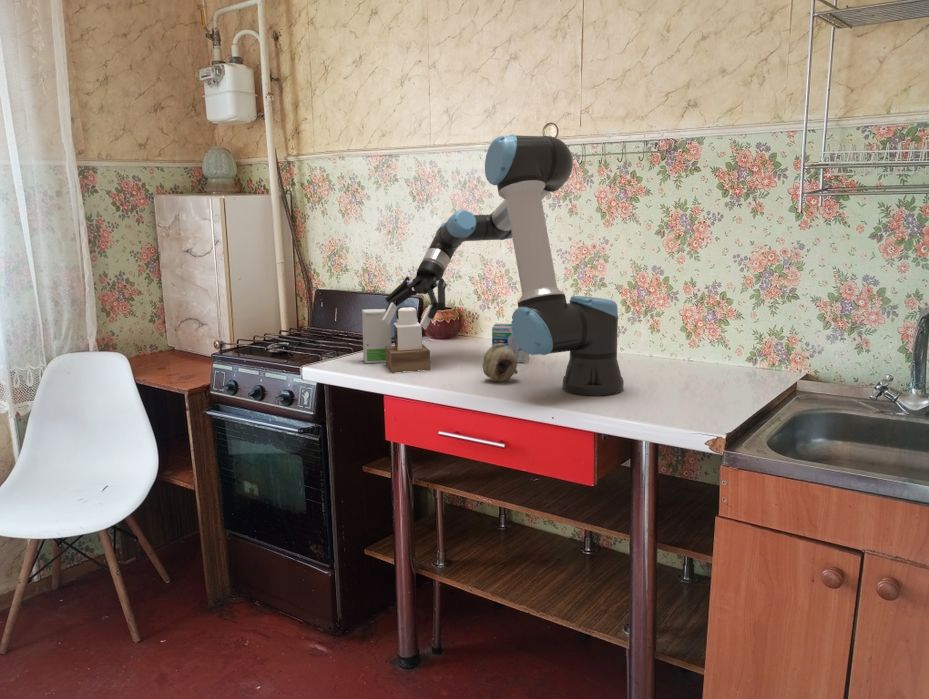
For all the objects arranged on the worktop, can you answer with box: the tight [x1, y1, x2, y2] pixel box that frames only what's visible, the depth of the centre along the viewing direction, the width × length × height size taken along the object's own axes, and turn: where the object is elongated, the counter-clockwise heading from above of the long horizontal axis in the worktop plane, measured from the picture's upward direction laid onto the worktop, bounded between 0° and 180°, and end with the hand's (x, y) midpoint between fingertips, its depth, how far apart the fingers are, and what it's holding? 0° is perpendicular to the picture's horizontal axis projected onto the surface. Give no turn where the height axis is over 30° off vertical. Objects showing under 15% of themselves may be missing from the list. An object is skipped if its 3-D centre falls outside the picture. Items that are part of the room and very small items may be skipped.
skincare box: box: [361, 308, 392, 364], centre depth 226 cm, size 8×7×16 cm
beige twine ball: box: [481, 343, 519, 383], centre depth 198 cm, size 10×8×10 cm
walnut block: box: [385, 343, 431, 374], centre depth 217 cm, size 11×11×6 cm
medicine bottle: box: [393, 305, 423, 351], centre depth 215 cm, size 7×7×12 cm
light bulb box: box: [491, 323, 530, 363], centre depth 223 cm, size 11×7×11 cm, turn 80°
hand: (403, 324), depth 214 cm, fingers open, 13 cm apart
